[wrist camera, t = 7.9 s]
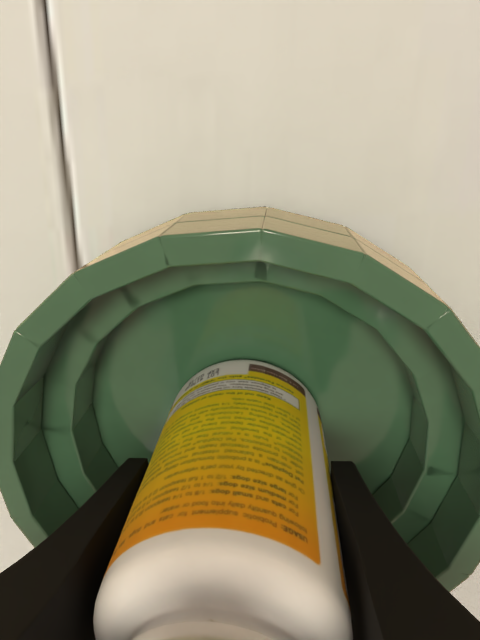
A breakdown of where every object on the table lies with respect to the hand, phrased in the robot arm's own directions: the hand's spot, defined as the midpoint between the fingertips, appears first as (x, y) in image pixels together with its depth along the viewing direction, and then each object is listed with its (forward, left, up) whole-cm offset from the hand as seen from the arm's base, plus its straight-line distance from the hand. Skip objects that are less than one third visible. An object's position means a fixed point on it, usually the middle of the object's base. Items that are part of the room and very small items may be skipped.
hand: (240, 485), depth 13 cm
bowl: (0, 0, -4) cm, 4 cm away
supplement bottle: (0, 0, -4) cm, 4 cm away
